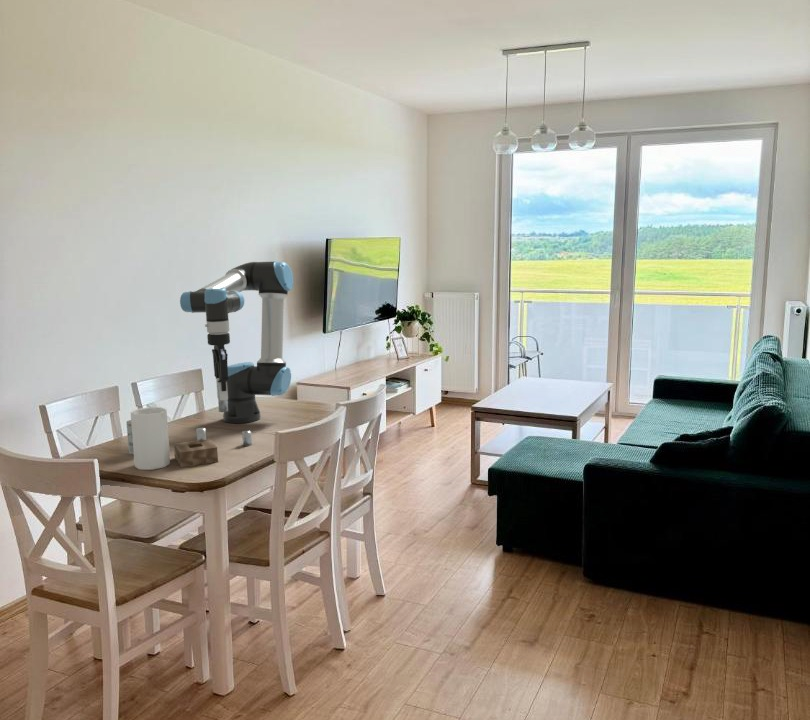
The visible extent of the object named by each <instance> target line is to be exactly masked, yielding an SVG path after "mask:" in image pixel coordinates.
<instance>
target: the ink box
mask: <svg viewBox="0 0 810 720" xmlns="http://www.w3.org/2000/svg"><path fill="white" fill-rule="evenodd" d="M126 431H127V433H126V434H127V446H128V454H130V455H134V451H133V438H132V425H131V419H130V420H127V421H126Z"/></svg>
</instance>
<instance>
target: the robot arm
mask: <svg viewBox="0 0 810 720" xmlns="http://www.w3.org/2000/svg"><path fill="white" fill-rule="evenodd" d="M293 286H294V275H293V271H292V269H291V266H289V264H288V263H287V262H284V261H278V260H277V261H250V262H247V263H243V264H241V265H238V266H235V267H233V268H231V269H229V270H228V271H227V272H226V273H225V274H224V275H223V276H221V277H220V278H218V279H215V281H212V282H210V283H208V284H206V285H205V286H203V287H201V288H199V289H198V290H194V291H190V290H189V291H185V292H183V293H182V294H181V295H180V298H179V304H180V308H181V310H182V311H183V312H185V313H192V314H193V313H196V314H197V313H205V318H206V320H205V321H206V324H204V327H205V328H206V331H207V336H206V338H207V344H208V345H209V346H213V349H212V350H211V352H212V359H213V371H214V372H213V373H214V377H215V380H216V382H215V383H216V384H217V382H219V395H220V400H228V411H227V412H222V421H223V422H225V423H229V424H244V423H245V424H246V423H247V424H248V423H251V422H257V421H259V420H260V419H261V411H260V409H259V408H260V407H259V406H258V403H257V401H256V396H271V397H273V396H275V397H276V396H283V395H285V394H286V393H287V392H288V390H289V388H290V385H291V381H292V373H291V371H292V370H291V369H290V367H289V366H287V362H286V360H285V359H284V358H283V351H284V350H283V344H284V343H283V340H284V309H285V308H284V305H285V303H284V301H285V299H286V298H287V297H288V295H289V294H288V293H289V292H290V291H291V290H292V289H293ZM243 291H255V292H256V291H257V292H258V296H259V297H260V298H261V300H262V301H261V302H262V303H261V335H260V337H261V340H260V341H261V342H260V343H261V344H260V346H261V348H260V358H259V360H257V361H256V366H255V364H254V362H252V361H246V362H239V363H235V364H230V365H228V356H229V355H228V352H227V349H226V348H225V346H226V345H229V344H230V343H231V338H230V333H229V332H230V321H229V314H230V313H236V312H239V311H240V310H242V309H243V307H244V306H245V297H244V295H243V294H242V292H243ZM218 377H219V381H217V378H218ZM216 395H217V399H218V390H217V389H216Z"/></svg>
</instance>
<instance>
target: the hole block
mask: <svg viewBox="0 0 810 720" xmlns="http://www.w3.org/2000/svg"><path fill="white" fill-rule="evenodd" d="M173 447H174V449H173V451H174V459H175V460H176V462H177V463H178V465H179V466H180V468H185V467H193V466H198V465H199V466H200V465H204V464H205V465H207V464H212V463H213V462H214V463H219V458H218V457H219V455H218V454H219V453H218V447H217V446H216V445H215V443H214V442H213V441H212V440H211V439H210V438H209V439H207V438H206V440H199V441H197V440H192V441H191V440H190V441H184V442H178V443H174V444H173ZM214 463H213V464H214Z"/></svg>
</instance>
